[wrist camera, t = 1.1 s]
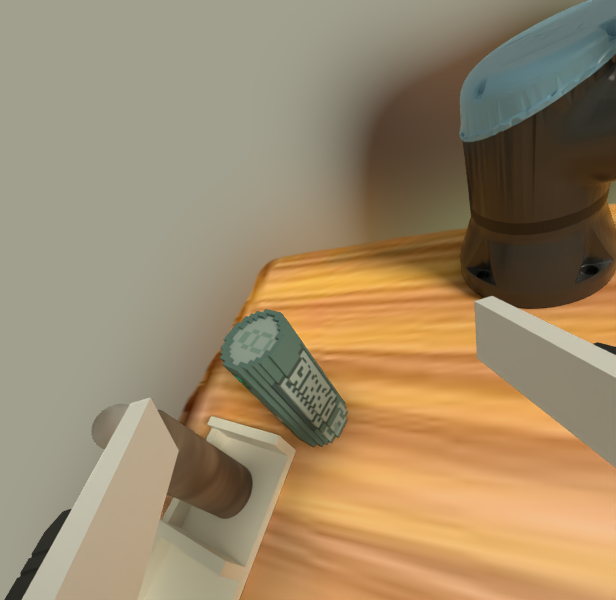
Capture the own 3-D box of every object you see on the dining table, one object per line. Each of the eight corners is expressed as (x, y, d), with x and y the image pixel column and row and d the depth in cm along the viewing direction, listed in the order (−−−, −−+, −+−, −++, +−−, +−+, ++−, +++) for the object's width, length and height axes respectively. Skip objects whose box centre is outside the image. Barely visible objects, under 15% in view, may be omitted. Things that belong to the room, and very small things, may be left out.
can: (313, 386, 39) (251, 305, 30) (356, 403, 35) (298, 316, 26) (286, 432, 37) (208, 358, 27) (329, 455, 33) (254, 378, 23)
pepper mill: (226, 459, 36) (107, 381, 26) (260, 472, 33) (142, 390, 23) (202, 508, 33) (57, 443, 23) (237, 526, 31) (90, 462, 20)
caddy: (230, 430, 40) (211, 416, 38) (296, 450, 35) (279, 435, 32) (102, 679, 28) (60, 682, 25) (173, 772, 22) (129, 787, 20)
